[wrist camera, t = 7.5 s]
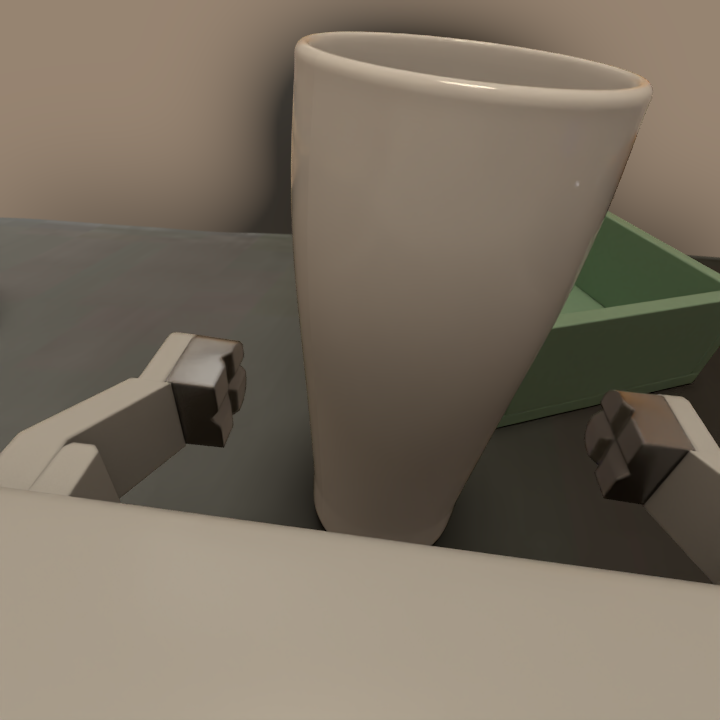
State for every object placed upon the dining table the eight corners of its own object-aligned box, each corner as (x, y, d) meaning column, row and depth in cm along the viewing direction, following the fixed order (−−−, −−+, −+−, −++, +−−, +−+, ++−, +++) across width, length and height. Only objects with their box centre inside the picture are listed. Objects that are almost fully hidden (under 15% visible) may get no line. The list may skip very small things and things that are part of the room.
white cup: (267, 559, 16) (222, 49, 7) (323, 422, 21) (343, 23, 12) (459, 614, 15) (726, 118, 6) (469, 457, 20) (620, 57, 11)
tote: (544, 266, 36) (573, 190, 32) (692, 383, 26) (758, 295, 22) (381, 283, 31) (392, 199, 28) (485, 431, 22) (523, 332, 18)
